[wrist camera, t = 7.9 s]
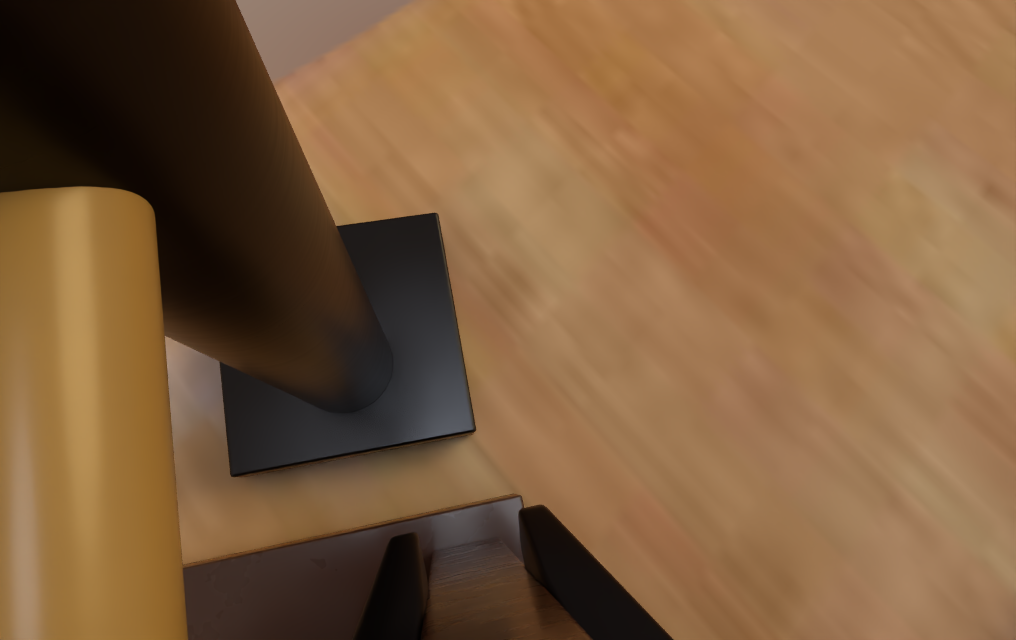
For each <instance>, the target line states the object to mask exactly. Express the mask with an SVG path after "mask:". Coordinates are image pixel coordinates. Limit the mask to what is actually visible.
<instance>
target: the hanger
mask: <svg viewBox="0 0 1016 640" xmlns="http://www.w3.org/2000/svg"><path fill="white" fill-rule="evenodd" d="M522 508H524V505H523V500H522V496H521V495H517V494H509V495H505V496H500V497H496V498H491V499H486V500H482V501H477V502H472V503H468V504H463V505H458V506H454V507H449V508H445V509H440V510H435V511H431V512H426V513H421V514H417V515H412V516H407V517H403V518H398V519H394V520H389V521H384V522H380V523H375V524H370V525H366V526H361V527H356V528H352V529H347V530H343V531H338V532H333V533H329V534H324V535H319V536H315V537H310V538H305V539H301V540H296V541H292V542H287V543H282V544H278V545H273V546H268V547H264V548H259V549H254V550H250V551H245V552H241V553H236V554H231V555H227V556H222V557H217V558H213V559H208V560H203V561H199V562H194V563H190V564H185V565H182V566H183V579H184V592H185V604H186V617H187V630H188V640H352V638H353V636H354V633H355V630H356V628H357V625H358V622H359V620H360V617H361V614H362V611H363V609H364V606H365V603H366V601H367V598H368V595H369V593H370V590H371V587H372V585H373V582H374V579H375V577H376V574H377V571H378V569H379V566H380V563H381V561H382V558H383V555H384V553H385V550H386V547H387V545H388V542H389V540H390V539H391V538H392V537H394V536H398V535H402V534H407V533H412V532H414V533H417V535H418V537H419V541H420V545H421V550H422V555H423V559H424V564H425V569H426V574H427V581H428V588H429V590H428V598H427V606H426V611H425V615H424V621H423V627H422V634H421V640H593V639H592V638H591V637H590V636H589V635H588V634H587V633H586V632H585V631H584V629H583V628H582V627H581V626H580V625H579V624H578V623H577V622H576V621H575V620H574V619H573V618H572V616H571V615H570V614H569V613H568V612H567V611H566V610H565V609H564V608H563V607H562V606H561V605H560V603H559V602H558V601H557V600H556V599H555V598H554V597H553V596H552V595H551V594H550V593H549V592H548V590H547V589H546V588H545V587H544V586H543V585H542V584H541V583H540V582H539V581H538V580H537V579H536V578H535V577H534V576H533V575H532V574H531V573H530V571H529V570H528V569H527V568H526V567H525V564H524V560H523V555H522V550H521V543H520V532H519V521H518V512H519V510H520V509H522Z"/></svg>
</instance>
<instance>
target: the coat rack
mask: <svg viewBox="0 0 1016 640" xmlns="http://www.w3.org/2000/svg"><path fill="white" fill-rule="evenodd" d="M164 335H165V336H167V337H169V338H171V339H173V340H175V341H177V342H180V343H182V344H184V345H186V346H188V347H190V348H192V349H194V350H197V351H199V352H201V353H203V354H205V355H207V356H209V357H211V358H214V359H216V360H218V361H220V372H221V382H222V393H223V403H224V414H225V424H226V435H227V445H228V455H229V466H230V475H231V477H247V476H253V475H258V474H263V473H269V472H274V471H279V470H285V469H290V468H295V467H301V466H306V465H311V464H317V463H322V462H327V461H333V460H338V459H343V458H349V457H354V456H359V455H365V454H370V453H375V452H381V451H386V450H391V449H397V448H402V447H407V446H413V445H418V444H423V443H429V442H434V441H439V440H445V439H450V438H456V437H461V436H466V435H472V434H473V433H474V432H475V431H476V426H475V420H474V414H473V409H472V403H471V397H470V392H469V386H468V380H467V375H466V369H465V363H464V358H463V352H462V346H461V341H460V335H459V329H458V324H457V318H456V312H455V307H454V301H453V295H452V289H451V284H450V278H449V272H448V267H447V261H446V255H445V250H444V244H443V238H442V233H441V227H440V221H439V216H438V214H437V213H429V214H422V215H415V216H407V217H400V218H393V219H386V220H378V221H371V222H364V223H357V224H349V225H342V226H336V225H335V223H334V220H333V218H332V216H331V214H330V211H329V209H328V207H327V205H326V202H325V200H324V198H323V196H322V193H321V191H320V189H319V187H318V184H317V182H316V180H315V178H314V175H313V173H312V171H311V169H310V166H309V164H308V162H307V160H306V157H305V155H304V153H303V151H302V148H301V146H300V144H299V142H298V140H297V137H296V135H295V133H294V131H293V128H292V126H291V124H290V122H289V119H288V117H287V115H286V113H285V110H284V108H283V106H282V104H281V101H280V99H279V97H278V95H277V92H276V90H275V88H274V86H273V83H272V81H271V79H270V77H269V74H268V72H267V70H266V68H265V65H264V63H263V61H262V59H261V57H260V54H259V52H258V50H257V48H256V45H255V43H254V41H253V39H252V36H251V34H250V32H249V30H248V27H247V25H246V23H245V21H244V18H243V16H242V14H241V12H240V9H239V7H238V5H237V3H236V0H0V640H188V630H187V617H186V604H185V592H184V579H183V566H182V553H181V540H180V528H179V515H178V502H177V489H176V477H175V464H174V451H173V438H172V425H171V413H170V400H169V387H168V374H167V361H166V349H165V336H164Z"/></svg>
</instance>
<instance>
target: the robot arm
mask: <svg viewBox="0 0 1016 640" xmlns="http://www.w3.org/2000/svg"><path fill="white" fill-rule="evenodd" d="M518 521H519V532H520V543H521V550H522V555H523V560H524V564H525V567H526V568H527V569H528V570H529V571H530V573H531V574H532V575H533V576H534V577H535V578H536V579H537V580H538V581H539V582H540V583H541V584H542V585H543V586H544V587H545V588H546V589H547V590H548V592H549V593H550V594H551V595H552V596H553V597H554V598H555V599H556V600H557V601H558V602H559V603H560V605H561V606H562V607H563V608H564V609H565V610H566V611H567V612H568V613H569V614H570V615H571V616H572V618H573V619H574V620H575V621H576V622H577V623H578V624H579V625H580V626H581V627H582V628H583V629H584V631H585V632H586V633H587V634H588V635H589V636H590V637H591V638H592V639H593V640H673V639H672V638H671V636H670V635H669V634H668V633H667V632H666V631H665V630H664V629H663V628H662V627H661V626H660V625H659V624H658V623H657V622H656V621H655V620H654V619H653V618H652V617H651V616H650V615H649V614H648V613H647V611H646V610H645V609H644V608H643V607H642V606H641V605H640V604H639V603H638V602H637V601H636V600H635V599H634V598H633V597H632V596H631V595H630V594H629V593H628V592H627V591H626V590H625V589H624V588H623V586H622V585H621V584H620V583H619V582H618V581H617V580H616V579H615V578H614V577H613V576H612V575H611V574H610V573H609V572H608V571H607V570H606V569H605V568H604V567H603V566H602V565H601V564H600V562H599V561H598V560H597V559H596V558H595V557H594V556H593V555H592V554H591V553H590V552H589V551H588V550H587V549H586V548H585V547H584V546H583V545H582V544H581V543H580V542H579V541H578V540H577V539H576V537H575V536H574V535H573V534H572V533H571V532H570V531H569V530H568V529H567V528H566V527H565V526H564V525H563V524H562V523H561V522H560V521H559V520H558V519H557V518H556V517H555V516H554V515H553V514H552V512H551V511H550V510H549V509H548V508H547V507H545V506H544V505H536V506H531V507H526V508H522V509H520V510H519V512H518ZM428 590H429V588H428V581H427V574H426V569H425V564H424V559H423V555H422V550H421V545H420V541H419V537H418V535H417V533H414V532H412V533H407V534H402V535H398V536H394V537H392V538H391V539H390V540H389V542H388V545H387V547H386V550H385V553H384V555H383V558H382V561H381V563H380V566H379V569H378V571H377V574H376V577H375V579H374V582H373V585H372V587H371V590H370V593H369V595H368V598H367V601H366V603H365V606H364V609H363V611H362V614H361V617H360V620H359V622H358V625H357V628H356V630H355V633H354V636H353V638H352V640H421V634H422V627H423V621H424V615H425V611H426V606H427V598H428Z"/></svg>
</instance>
